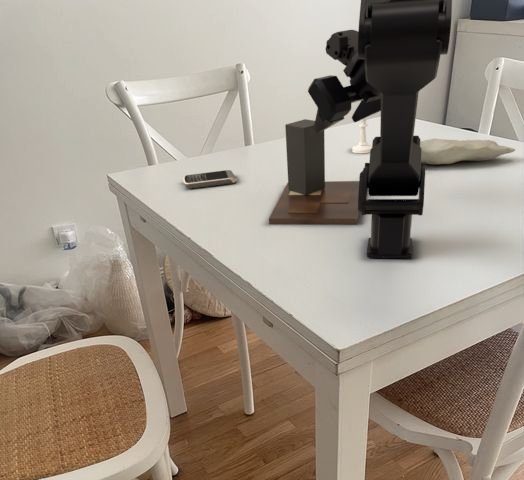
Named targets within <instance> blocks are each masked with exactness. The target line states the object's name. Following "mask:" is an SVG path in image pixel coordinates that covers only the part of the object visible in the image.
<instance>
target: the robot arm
mask: <svg viewBox="0 0 524 480" xmlns="http://www.w3.org/2000/svg"><path fill="white" fill-rule="evenodd" d="M452 10H453V0H360V8H359V17H358V18H359V19H358V30H355V29H347V30H346V29H345V30H340V31H336V32H333V33H331V35H330V37H329V38H328V39H327V40H326V43H325V45H326V46H325V54H326V55H327V56H329V57H330V58H332V59H333V60H334V61H338V62H339V63H341V64H342V65H344V66H345V67H344V69H343V70H342V71H343V73H344V75H345V76H346V77H347V78H349V84H350V85H347V86H344V85H343V84H342V82H341V81H340V79H339V78H338V76H337V75H330V74H329V75H325V76H322V77H317V78H314V79H313V80H312V82H311V83H310V85H309V86H308V88H307V92H308V95H309V96H310V98H311V99H312V101H313V103H314V104H315V106H316V107H317V109H316V115H315V120H314V121H315V123H314V131H315V132H316V133H320V132H321V131H323V130H324V131H325V130H327V129H329V128H331V127H332V126H335V125H336V124H338V123H339V122H341V121H343V120H345V116H347V115H348V114H350V112H351V110H352V104H353V103H357V102H359V104H358V106H357V107H356V108H355V110H354V112H353V114H352V116H351V120H352V122H353V123H358V122H361V121H360V120H362V119H364V118H366V117H367V118H368V117H370V116H373V115H375V114H377V113H380V129H379V130H380V131H379V132H380V133H379V135H380V136H375V137H374V138H373V139H372V141H371V142H372V143H371V146H372V149H371V150H370V152H369V162H365V163H364V167H363V169H362V170H361V171H360V172H359V178H358V179H359V180H358V181H359V194H358V211H359V212H360V213H361V216H366V215H369V216H370V215H371V218H370V219H371V220H370V237H368V240H367V248H366V249H367V250H366V258H371V259H374V258H375V259H412V258H413V255H414V254H413V238H412V237H411V232H412V221H413V216H415V215H416V216H423V213H424V204H425V185H426V165H427V164H426V163H425V162H421V152H422V148H421V147H420V141H421V138H420V137H419V135H415V126H416V117H417V109H418V100H419V93H420V91H421V90H423V89H424V88H425V87H426V86H428V85H429V84H431V82H433V81H435V79H437V76H438V72H439V71H438V70H439V66H440V59H441V55H448V52H449V47H450V42H451V41H450V39H451V29H452V13H453V11H452ZM368 196H369V197H417V196H418V198H369V197H368Z"/></svg>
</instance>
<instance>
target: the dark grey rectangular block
mask: <svg viewBox="0 0 524 480" xmlns="http://www.w3.org/2000/svg"><path fill="white" fill-rule="evenodd" d="M314 123H315V120H313V119H308V118H307V119H306V118H304V119H301V120H297V121H293V122H290V123H286V124H285V144H286V146H285V147H286V149H285V150H286V165H287V166H286V167H287V183H288V189H289V190H290V191H293V192H297V193H300V194H303V195H308V194H311V193H314V192H317V191H319V190H322V189H325V182H326V162H325V161H326V159H325V152H326V151H325V148H326V147H325V130H323V131H321V132H320V133H316V132H315V131H314Z"/></svg>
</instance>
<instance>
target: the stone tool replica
mask: <svg viewBox="0 0 524 480" xmlns="http://www.w3.org/2000/svg"><path fill="white" fill-rule="evenodd" d="M420 147H421V148H422V152H421V162H425V163H426V165H433V166H434V165H436V166H437V165H450V164H454V163H457V162H462V161H471V162H475V161H476V162H481V161H490V160H493V159H495V158H498V157H501V156H503V155H508V154H511V153H514V152H515V151H516V149H515V148H514V147H509V146H505V145H500V144H498V143H497V142H496V141H494V140H490V139H466V140H463V139H462V140H458V139H446V138H445V139H444V138H443V139H441V138H429V139H425V140H420Z"/></svg>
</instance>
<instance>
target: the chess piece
mask: <svg viewBox="0 0 524 480" xmlns="http://www.w3.org/2000/svg"><path fill="white" fill-rule="evenodd" d="M367 119H368V117H366V118H364V119H362V120H360V121H359V122H360V123H359V124H358V127H359V128H360V134H359V140H358V143H357V144H356V145H354V146H352V147H351V152H353V153H354V154H368V153H369V154H370V150H371V149H372V144H369V142H368V141H367V133H366V127H369V124H368V123H367Z"/></svg>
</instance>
